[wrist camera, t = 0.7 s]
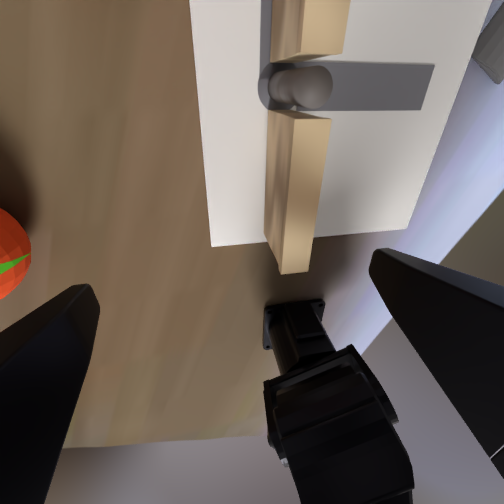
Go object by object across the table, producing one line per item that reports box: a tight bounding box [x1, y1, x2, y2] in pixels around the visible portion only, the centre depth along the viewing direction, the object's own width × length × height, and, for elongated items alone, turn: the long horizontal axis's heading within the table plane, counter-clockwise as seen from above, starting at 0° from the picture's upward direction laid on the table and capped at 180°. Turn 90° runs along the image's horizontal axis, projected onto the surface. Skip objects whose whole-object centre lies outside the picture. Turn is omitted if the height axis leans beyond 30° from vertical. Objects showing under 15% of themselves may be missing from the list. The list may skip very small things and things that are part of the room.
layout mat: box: [189, 0, 492, 247], centre depth 17 cm, size 20×18×1 cm
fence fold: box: [264, 110, 332, 275], centre depth 16 cm, size 9×2×6 cm, turn 0°
